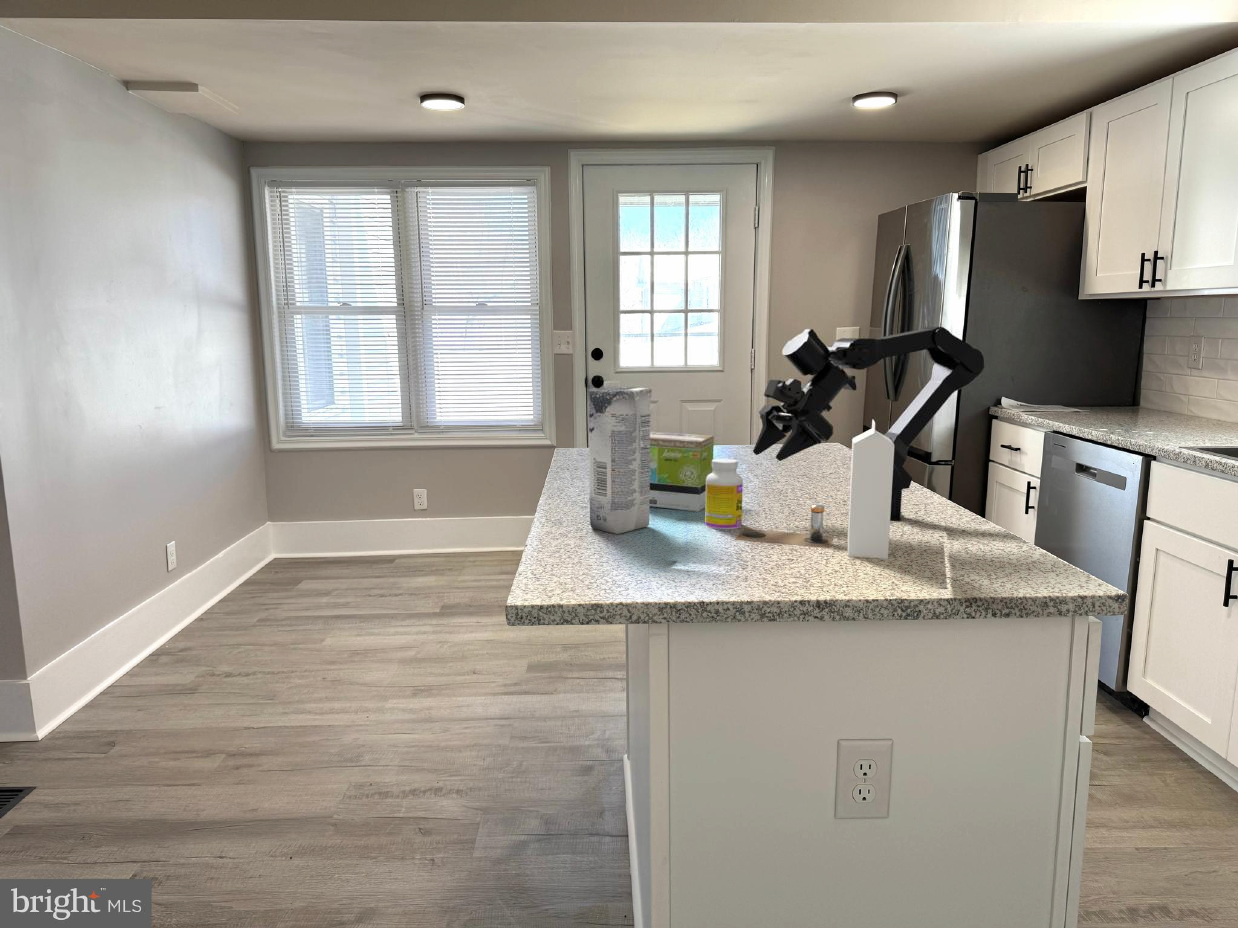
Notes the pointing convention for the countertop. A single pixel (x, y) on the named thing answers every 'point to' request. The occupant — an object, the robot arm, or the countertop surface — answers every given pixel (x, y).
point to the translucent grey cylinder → (816, 523)
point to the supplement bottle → (724, 495)
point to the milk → (870, 495)
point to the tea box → (679, 470)
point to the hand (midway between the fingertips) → (765, 456)
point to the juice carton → (619, 457)
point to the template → (783, 538)
